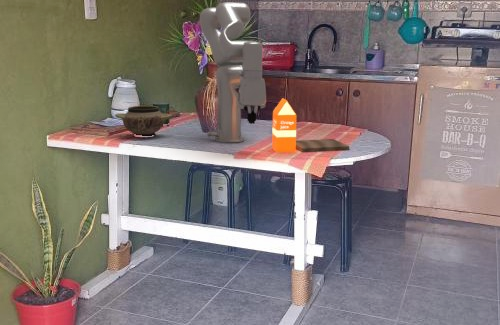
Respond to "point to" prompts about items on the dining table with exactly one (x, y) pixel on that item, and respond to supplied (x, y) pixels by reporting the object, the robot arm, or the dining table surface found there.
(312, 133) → the dining table surface
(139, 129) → the ceramic bowl
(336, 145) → the walnut board
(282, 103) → the orange juice
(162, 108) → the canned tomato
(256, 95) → the robot arm
